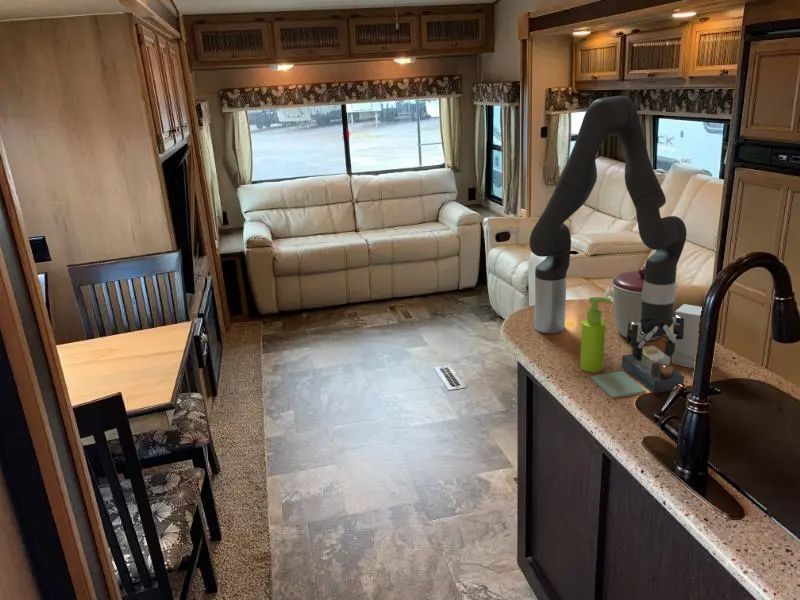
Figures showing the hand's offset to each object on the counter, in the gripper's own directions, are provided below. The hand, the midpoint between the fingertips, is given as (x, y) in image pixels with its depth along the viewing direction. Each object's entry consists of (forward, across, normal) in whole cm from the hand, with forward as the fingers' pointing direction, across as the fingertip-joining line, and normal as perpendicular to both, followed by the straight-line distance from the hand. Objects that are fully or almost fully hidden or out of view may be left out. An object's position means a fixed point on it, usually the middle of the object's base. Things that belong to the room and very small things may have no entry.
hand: (653, 357), depth 156 cm
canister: (+6, -12, -25) cm, 29 cm away
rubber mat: (+6, +10, +1) cm, 12 cm away
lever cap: (+2, 0, 0) cm, 2 cm away
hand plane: (+6, 0, 0) cm, 6 cm away
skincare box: (+6, -14, -4) cm, 16 cm away
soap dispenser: (+6, +11, -10) cm, 16 cm away
